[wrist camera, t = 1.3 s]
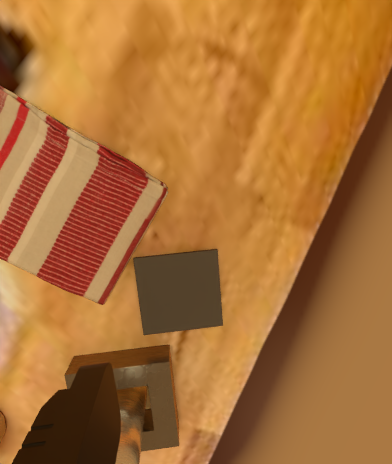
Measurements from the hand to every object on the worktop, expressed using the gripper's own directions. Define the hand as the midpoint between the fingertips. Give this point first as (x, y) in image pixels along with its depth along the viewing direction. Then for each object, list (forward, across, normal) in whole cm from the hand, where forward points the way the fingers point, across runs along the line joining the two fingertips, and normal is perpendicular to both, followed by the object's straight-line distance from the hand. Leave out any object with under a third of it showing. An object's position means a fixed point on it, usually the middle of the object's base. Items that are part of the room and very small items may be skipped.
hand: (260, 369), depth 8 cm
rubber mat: (+28, -2, -10) cm, 30 cm away
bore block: (+28, -10, -22) cm, 37 cm away
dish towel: (+29, -16, +4) cm, 33 cm away
